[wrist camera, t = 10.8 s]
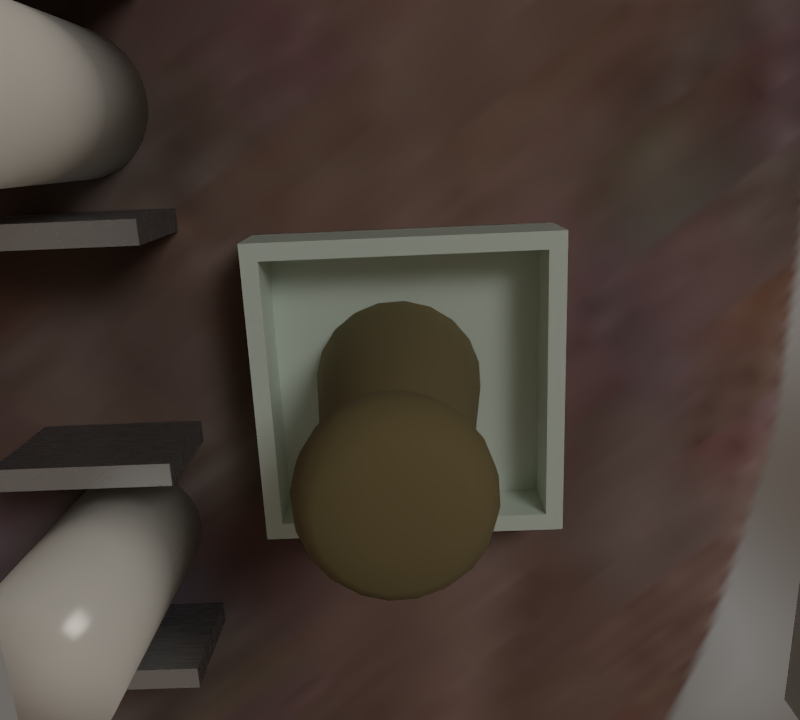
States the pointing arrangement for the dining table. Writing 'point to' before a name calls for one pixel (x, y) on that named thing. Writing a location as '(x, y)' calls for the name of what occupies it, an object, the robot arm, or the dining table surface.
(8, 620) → the cream rounded capsule
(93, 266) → the dining table surface
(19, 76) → the cream jar
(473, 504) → the cork
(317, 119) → the dining table surface
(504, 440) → the tray
